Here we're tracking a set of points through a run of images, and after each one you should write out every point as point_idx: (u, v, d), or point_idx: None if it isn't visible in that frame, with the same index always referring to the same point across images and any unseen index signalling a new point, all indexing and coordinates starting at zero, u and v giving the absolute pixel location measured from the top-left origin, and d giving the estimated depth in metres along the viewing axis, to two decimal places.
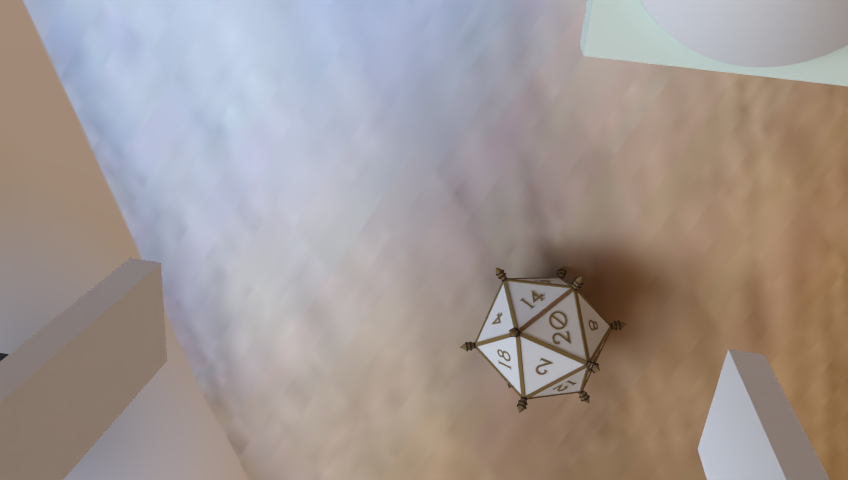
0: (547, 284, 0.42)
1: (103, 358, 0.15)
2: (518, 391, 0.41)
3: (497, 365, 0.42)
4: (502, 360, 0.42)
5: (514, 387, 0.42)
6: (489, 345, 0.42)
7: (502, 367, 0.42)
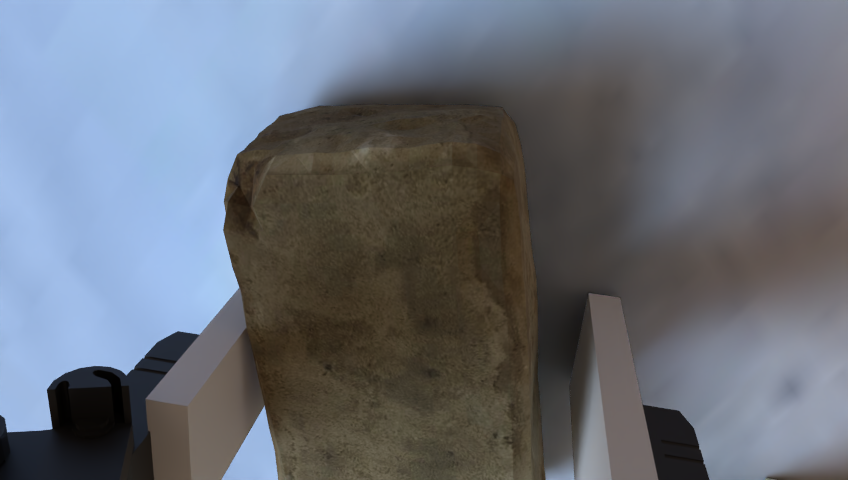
0: None
1: None
2: None
3: None
4: None
5: None
6: None
7: None
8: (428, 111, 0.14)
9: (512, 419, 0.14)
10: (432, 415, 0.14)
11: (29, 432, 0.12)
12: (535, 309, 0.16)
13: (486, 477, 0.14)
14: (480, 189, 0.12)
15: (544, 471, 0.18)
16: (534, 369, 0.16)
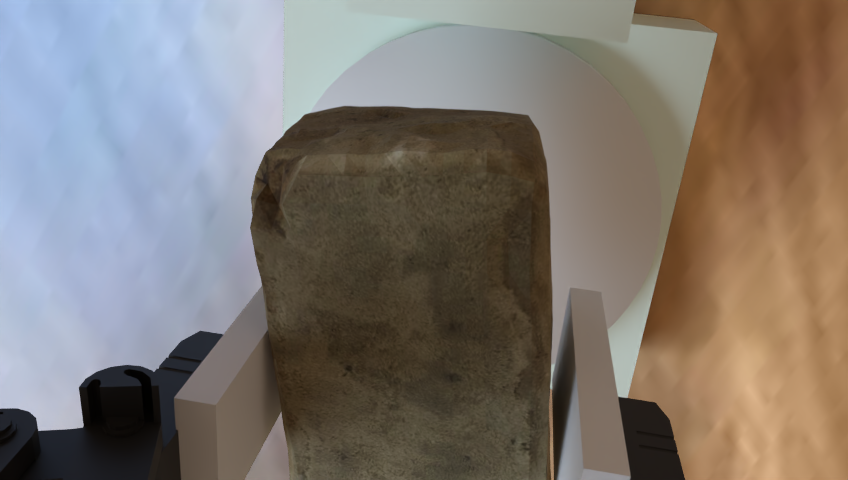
0: None
1: None
2: None
3: None
4: None
5: None
6: None
7: None
8: (456, 116, 0.15)
9: (531, 426, 0.14)
10: (451, 419, 0.14)
11: (59, 430, 0.12)
12: (551, 316, 0.16)
13: None
14: (513, 197, 0.12)
15: (550, 477, 0.18)
16: None
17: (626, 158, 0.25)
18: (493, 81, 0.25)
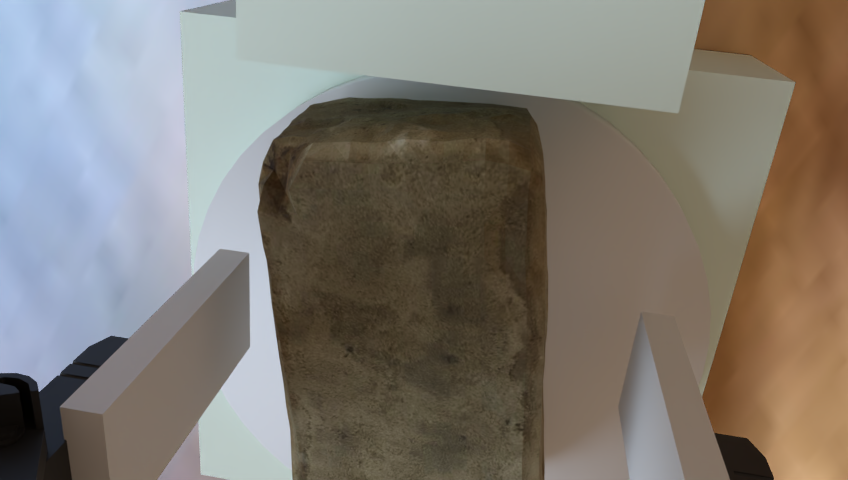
0: None
1: (206, 342, 0.16)
2: None
3: None
4: None
5: None
6: None
7: None
8: (457, 108, 0.15)
9: (525, 407, 0.14)
10: (448, 400, 0.15)
11: None
12: (546, 304, 0.17)
13: (496, 462, 0.15)
14: (511, 185, 0.13)
15: None
16: None
17: (662, 256, 0.18)
18: None
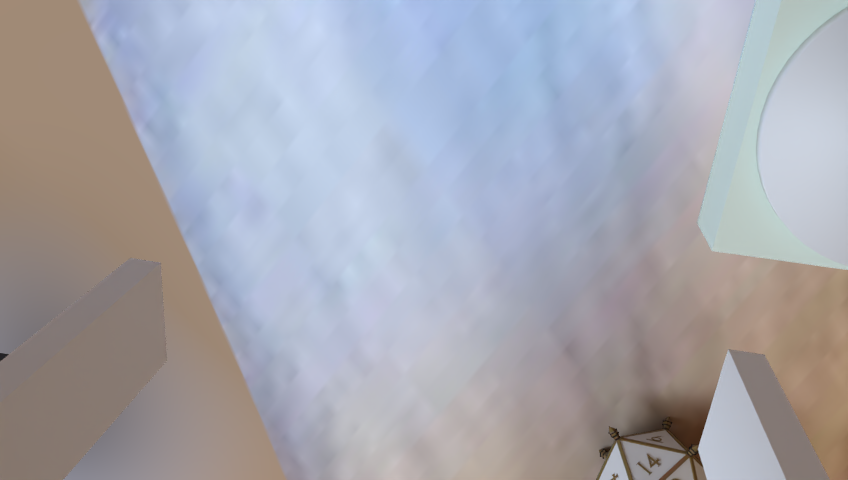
0: (662, 448, 0.43)
1: (103, 358, 0.15)
2: None
3: None
4: None
5: None
6: None
7: None
8: None
9: None
10: None
11: None
12: None
13: None
14: None
15: None
16: None
17: None
18: None
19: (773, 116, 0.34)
